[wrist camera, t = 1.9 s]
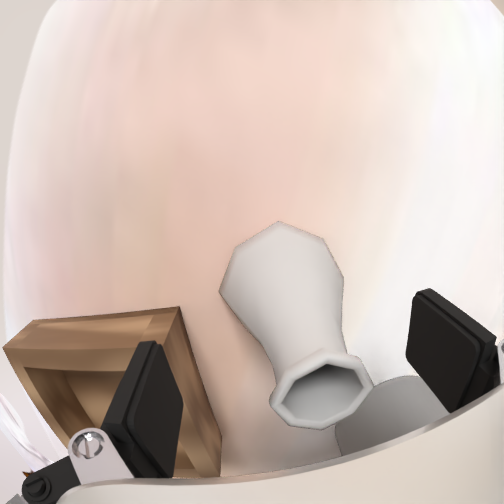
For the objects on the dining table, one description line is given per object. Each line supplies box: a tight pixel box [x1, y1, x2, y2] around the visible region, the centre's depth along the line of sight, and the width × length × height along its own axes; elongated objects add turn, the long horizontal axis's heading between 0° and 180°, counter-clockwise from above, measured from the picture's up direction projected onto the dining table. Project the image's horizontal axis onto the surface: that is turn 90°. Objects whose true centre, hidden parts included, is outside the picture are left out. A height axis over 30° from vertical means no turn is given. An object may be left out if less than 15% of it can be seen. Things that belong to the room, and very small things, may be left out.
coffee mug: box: [335, 376, 450, 456], centre depth 17 cm, size 13×10×10 cm
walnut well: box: [3, 306, 222, 478], centre depth 17 cm, size 13×13×4 cm
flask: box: [219, 221, 374, 430], centre depth 13 cm, size 7×7×10 cm
